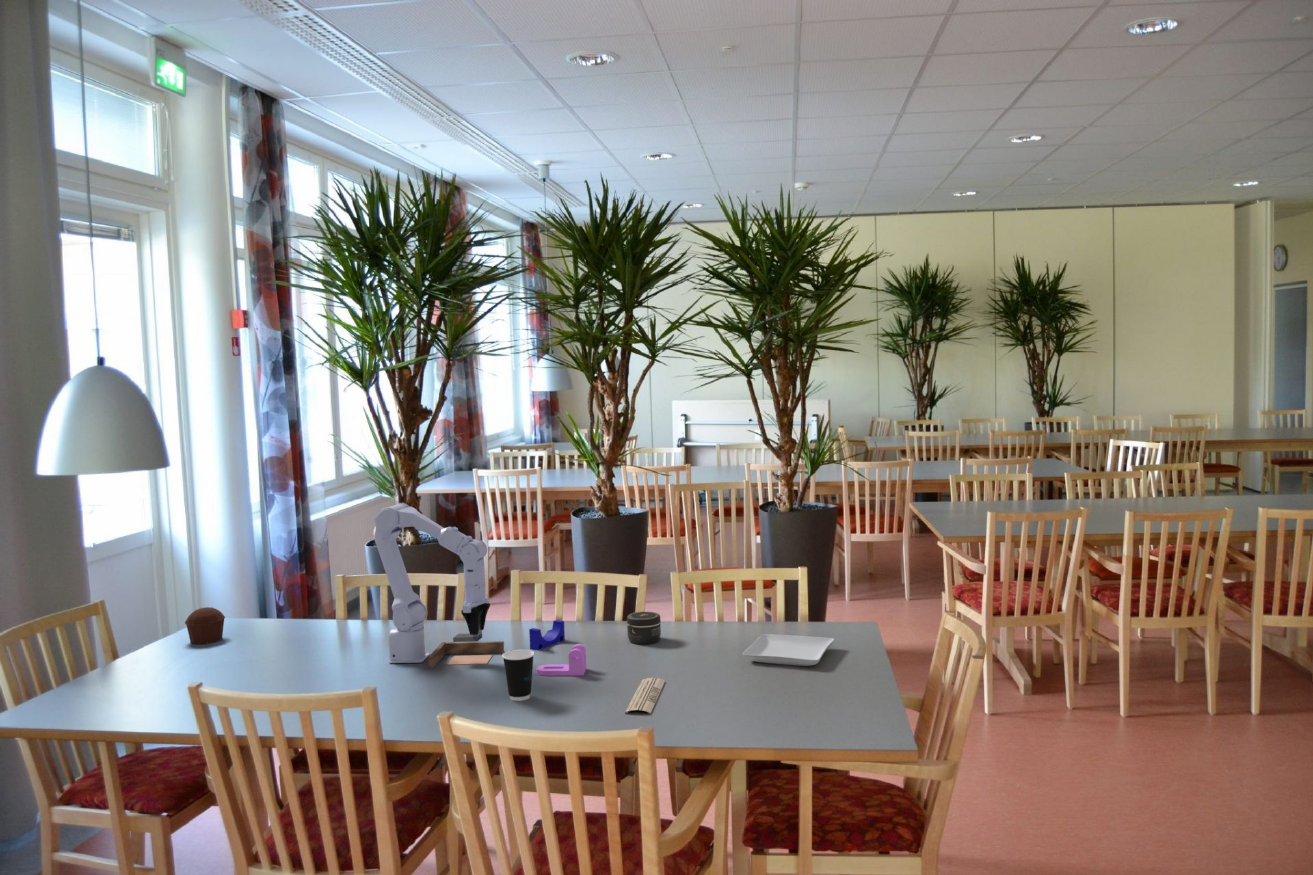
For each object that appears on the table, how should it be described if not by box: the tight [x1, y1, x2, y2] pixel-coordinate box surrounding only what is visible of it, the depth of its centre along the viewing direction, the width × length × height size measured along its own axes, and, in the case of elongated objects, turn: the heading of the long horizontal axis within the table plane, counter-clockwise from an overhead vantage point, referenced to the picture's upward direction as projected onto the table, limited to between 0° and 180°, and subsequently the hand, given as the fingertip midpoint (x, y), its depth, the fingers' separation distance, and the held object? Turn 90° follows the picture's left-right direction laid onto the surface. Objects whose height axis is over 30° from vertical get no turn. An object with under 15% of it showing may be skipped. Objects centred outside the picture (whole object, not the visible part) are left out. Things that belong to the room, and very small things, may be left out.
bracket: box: [535, 643, 587, 677], centre depth 260 cm, size 13×6×7 cm, turn 85°
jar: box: [626, 611, 662, 646], centre depth 288 cm, size 10×10×8 cm
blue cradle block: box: [528, 619, 566, 651], centre depth 288 cm, size 12×4×6 cm, turn 145°
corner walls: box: [427, 640, 505, 669], centre depth 274 cm, size 18×15×3 cm
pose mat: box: [446, 654, 493, 666], centre depth 274 cm, size 11×8×1 cm
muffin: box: [184, 607, 226, 645], centre depth 303 cm, size 12×11×10 cm
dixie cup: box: [501, 649, 535, 702], centre depth 240 cm, size 8×8×11 cm
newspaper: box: [624, 677, 666, 715], centre depth 238 cm, size 24×7×2 cm, turn 171°
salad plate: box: [742, 633, 835, 667], centre depth 268 cm, size 21×21×3 cm
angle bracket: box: [452, 617, 483, 642], centre depth 272 cm, size 7×4×6 cm, turn 80°
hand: (476, 632), depth 271 cm, fingers closed on angle bracket, 4 cm apart
